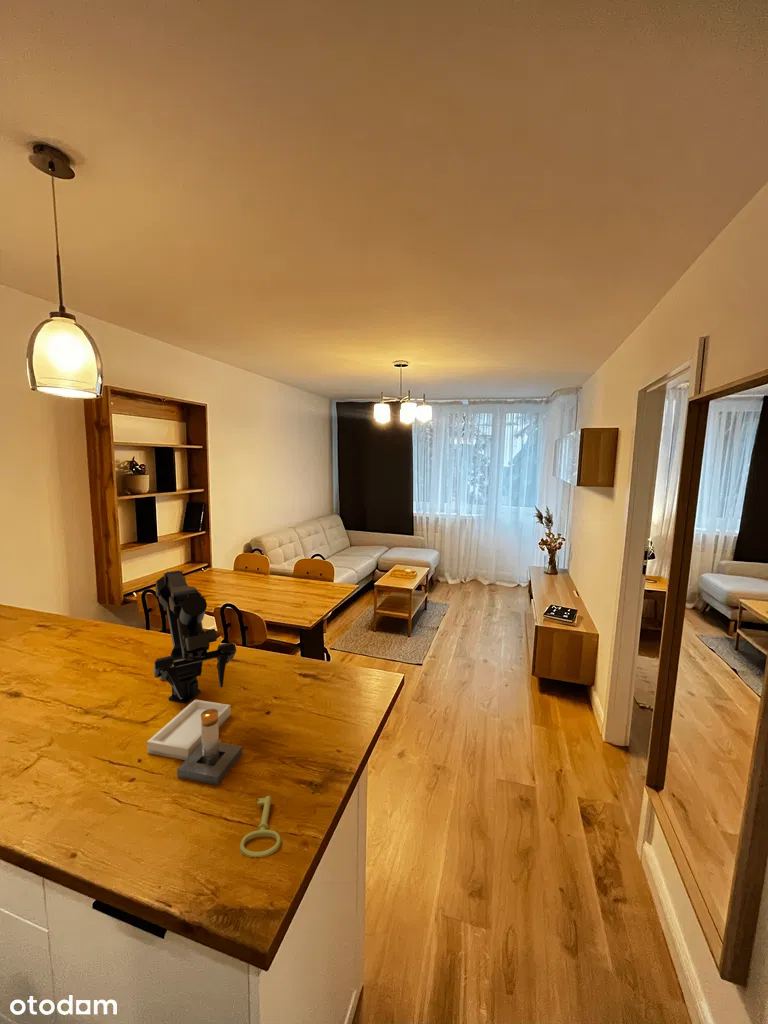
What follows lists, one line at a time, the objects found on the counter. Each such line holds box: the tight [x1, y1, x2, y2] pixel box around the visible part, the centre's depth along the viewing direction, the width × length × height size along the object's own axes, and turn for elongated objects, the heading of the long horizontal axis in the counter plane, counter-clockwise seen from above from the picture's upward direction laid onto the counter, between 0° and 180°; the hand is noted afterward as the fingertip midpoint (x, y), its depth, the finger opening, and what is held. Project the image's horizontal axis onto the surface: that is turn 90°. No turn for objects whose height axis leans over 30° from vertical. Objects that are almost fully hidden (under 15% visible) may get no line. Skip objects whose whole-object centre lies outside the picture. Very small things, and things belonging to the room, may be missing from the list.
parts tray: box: [146, 699, 232, 761], centre depth 109 cm, size 11×18×3 cm, turn 168°
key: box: [239, 795, 282, 859], centre depth 81 cm, size 7×12×2 cm, turn 25°
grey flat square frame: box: [176, 741, 243, 786], centre depth 98 cm, size 10×10×2 cm
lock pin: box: [201, 709, 220, 766], centre depth 97 cm, size 4×4×13 cm
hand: (202, 692), depth 103 cm, fingers open, 9 cm apart
